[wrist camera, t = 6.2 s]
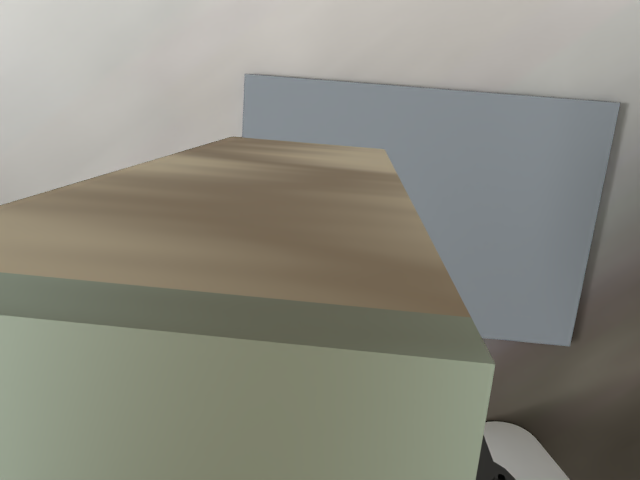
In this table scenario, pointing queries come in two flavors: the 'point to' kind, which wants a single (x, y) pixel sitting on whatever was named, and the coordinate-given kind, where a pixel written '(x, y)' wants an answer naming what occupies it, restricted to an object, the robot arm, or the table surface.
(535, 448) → the white tapered cylinder
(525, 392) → the table surface
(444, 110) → the mat
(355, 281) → the slab
